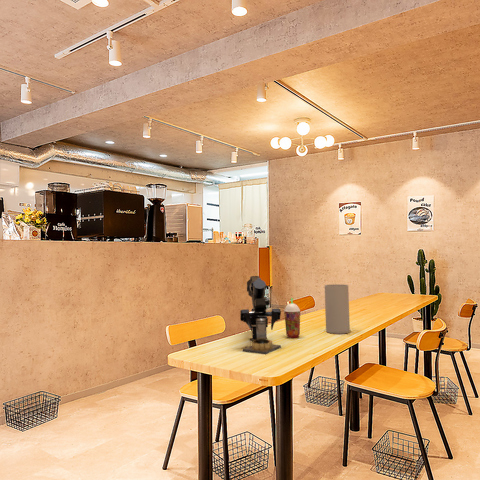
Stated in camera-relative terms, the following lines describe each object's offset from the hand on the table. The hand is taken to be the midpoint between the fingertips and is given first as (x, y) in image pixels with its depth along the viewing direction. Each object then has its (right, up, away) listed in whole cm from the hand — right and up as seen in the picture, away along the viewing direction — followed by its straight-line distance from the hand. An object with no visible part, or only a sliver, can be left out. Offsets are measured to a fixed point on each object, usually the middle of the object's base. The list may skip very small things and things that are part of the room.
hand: (261, 329), depth 185 cm
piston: (0, -8, +1) cm, 8 cm away
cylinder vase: (+43, -9, +35) cm, 56 cm away
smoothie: (+18, -10, +26) cm, 32 cm away
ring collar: (0, -9, +1) cm, 9 cm away
